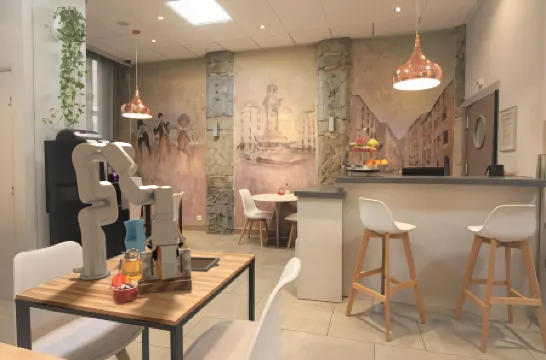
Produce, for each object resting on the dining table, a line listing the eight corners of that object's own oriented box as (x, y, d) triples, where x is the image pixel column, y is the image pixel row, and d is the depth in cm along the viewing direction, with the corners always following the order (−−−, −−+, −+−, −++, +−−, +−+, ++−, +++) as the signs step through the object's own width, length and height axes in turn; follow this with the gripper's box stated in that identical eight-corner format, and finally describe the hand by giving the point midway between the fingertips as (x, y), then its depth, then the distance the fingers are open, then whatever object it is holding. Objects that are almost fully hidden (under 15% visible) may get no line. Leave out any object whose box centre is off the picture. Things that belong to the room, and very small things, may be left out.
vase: (125, 259, 181) (123, 222, 180) (133, 255, 188) (132, 219, 187) (138, 260, 179) (137, 222, 178) (146, 255, 187) (145, 219, 186)
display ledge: (138, 294, 132) (137, 258, 131) (143, 282, 146) (141, 249, 145) (191, 289, 137) (190, 254, 136) (191, 277, 151) (190, 246, 150)
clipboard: (170, 256, 183) (224, 257, 178) (170, 259, 183) (224, 260, 178) (152, 266, 164) (212, 269, 159) (152, 270, 164) (212, 272, 159)
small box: (156, 274, 142) (154, 243, 142) (171, 271, 146) (170, 241, 145) (161, 280, 136) (160, 247, 135) (177, 276, 139) (176, 245, 139)
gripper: (140, 219, 134) (142, 263, 135) (186, 216, 138) (187, 259, 139) (142, 216, 141) (144, 258, 142) (186, 214, 145) (187, 255, 146)
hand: (165, 259), depth 140 cm, fingers closed on small box, 7 cm apart
